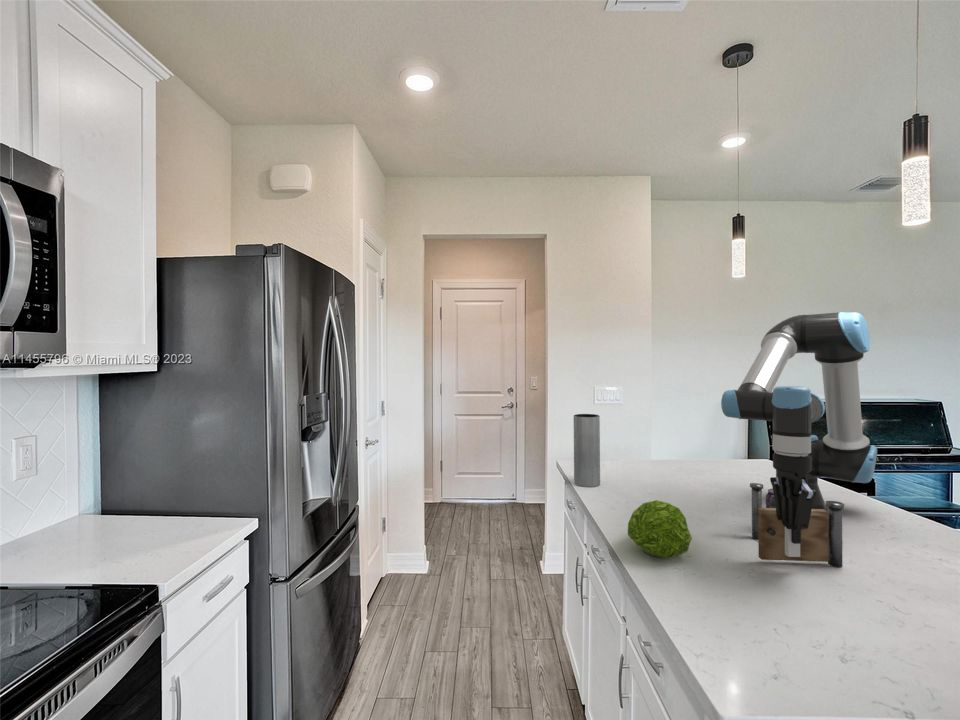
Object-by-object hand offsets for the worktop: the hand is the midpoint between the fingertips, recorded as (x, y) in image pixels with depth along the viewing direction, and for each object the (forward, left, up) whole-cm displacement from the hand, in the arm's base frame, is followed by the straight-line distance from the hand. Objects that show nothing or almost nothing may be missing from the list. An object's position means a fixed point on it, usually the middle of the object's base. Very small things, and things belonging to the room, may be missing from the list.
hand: (792, 555), depth 111 cm
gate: (-5, -2, -3) cm, 6 cm away
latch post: (-13, -17, -4) cm, 22 cm away
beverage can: (-22, -16, -4) cm, 27 cm away
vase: (-10, -84, -4) cm, 84 cm away
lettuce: (+14, -26, -4) cm, 29 cm away
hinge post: (-13, +2, -4) cm, 14 cm away
